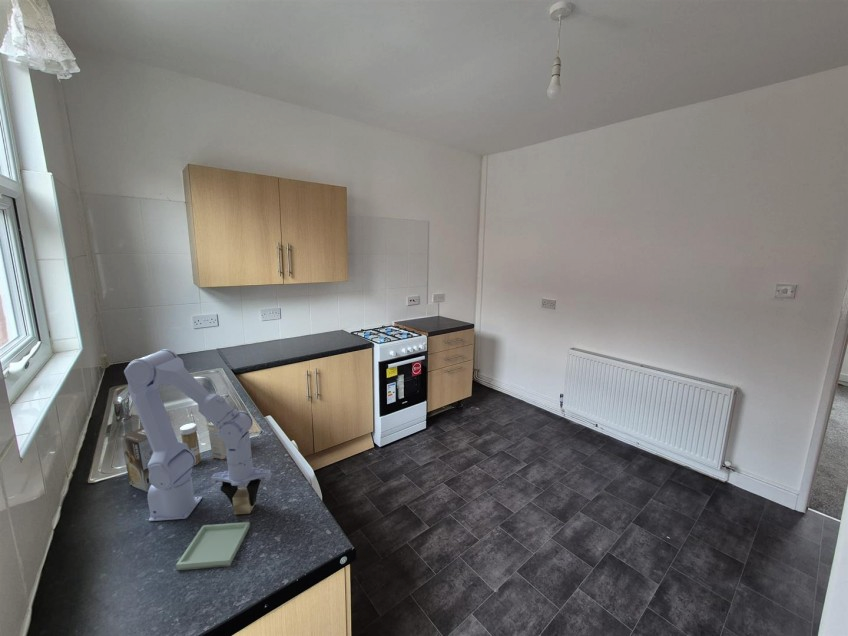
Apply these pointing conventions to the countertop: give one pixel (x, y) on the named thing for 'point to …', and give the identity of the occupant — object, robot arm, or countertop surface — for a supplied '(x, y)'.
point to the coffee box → (137, 458)
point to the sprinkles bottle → (191, 439)
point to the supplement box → (216, 442)
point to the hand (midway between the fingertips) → (244, 504)
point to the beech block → (242, 502)
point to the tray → (214, 546)
